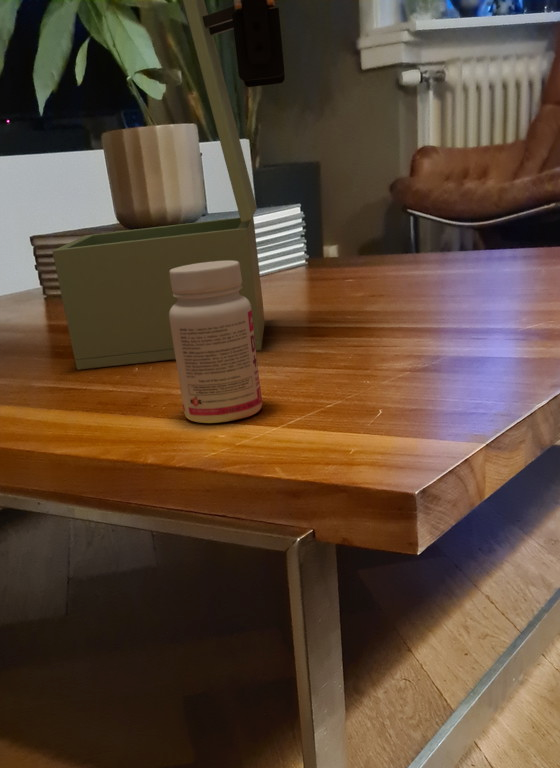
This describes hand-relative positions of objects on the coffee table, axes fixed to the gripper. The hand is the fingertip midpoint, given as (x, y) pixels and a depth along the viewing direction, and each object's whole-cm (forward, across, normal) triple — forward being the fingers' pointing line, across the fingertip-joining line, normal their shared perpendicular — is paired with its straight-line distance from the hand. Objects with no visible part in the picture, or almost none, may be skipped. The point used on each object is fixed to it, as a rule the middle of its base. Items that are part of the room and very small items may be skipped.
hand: (263, 80), depth 68 cm
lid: (+1, 0, -4) cm, 4 cm away
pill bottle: (+18, +24, -4) cm, 31 cm away
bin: (+18, 0, -9) cm, 21 cm away
